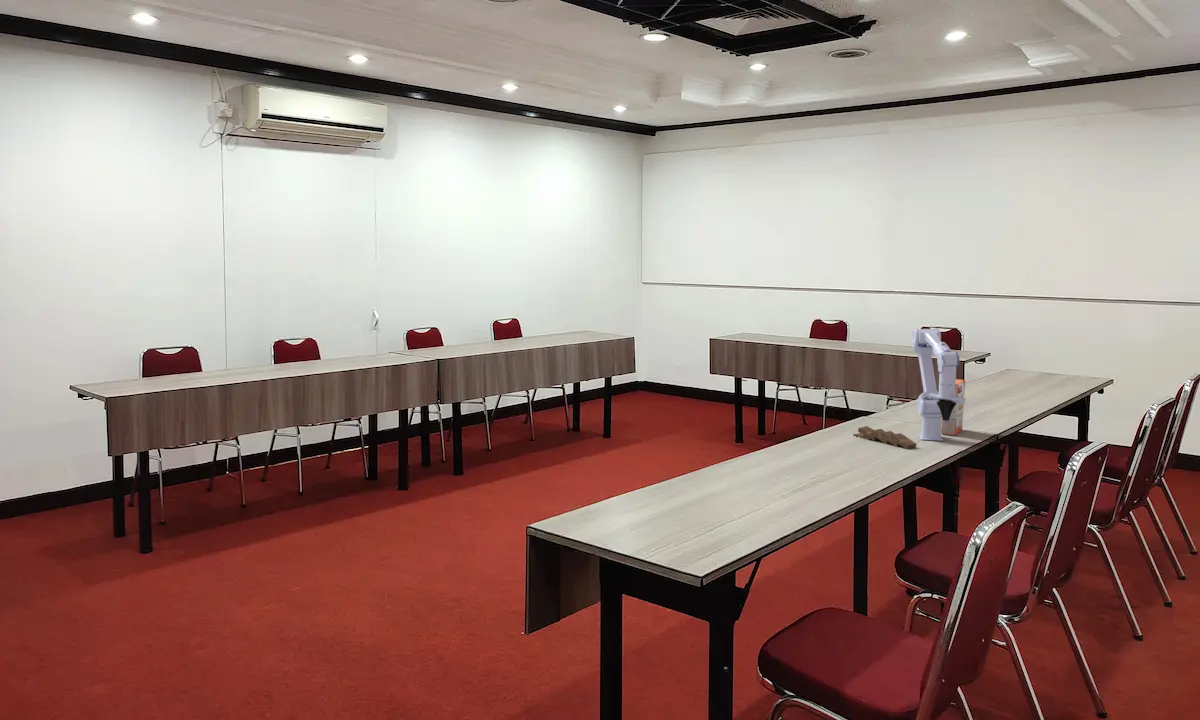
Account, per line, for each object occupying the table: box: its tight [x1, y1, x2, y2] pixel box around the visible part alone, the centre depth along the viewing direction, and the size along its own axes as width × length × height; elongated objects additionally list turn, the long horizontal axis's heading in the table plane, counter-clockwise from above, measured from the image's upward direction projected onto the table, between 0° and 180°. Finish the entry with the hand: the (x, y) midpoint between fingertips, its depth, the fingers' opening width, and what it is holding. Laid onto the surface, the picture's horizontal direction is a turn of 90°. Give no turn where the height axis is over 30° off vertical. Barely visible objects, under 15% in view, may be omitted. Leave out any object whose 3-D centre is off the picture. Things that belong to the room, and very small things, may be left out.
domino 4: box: [881, 430, 902, 447], centre depth 324 cm, size 2×5×8 cm
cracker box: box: [941, 378, 966, 436], centre depth 343 cm, size 14×6×21 cm, turn 147°
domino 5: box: [891, 433, 918, 450], centre depth 320 cm, size 2×5×8 cm
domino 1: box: [852, 432, 872, 441], centre depth 336 cm, size 2×5×8 cm
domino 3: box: [871, 428, 891, 445], centre depth 329 cm, size 2×5×8 cm
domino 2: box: [857, 425, 879, 442], centre depth 334 cm, size 2×5×8 cm
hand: (945, 420), depth 317 cm, fingers closed
